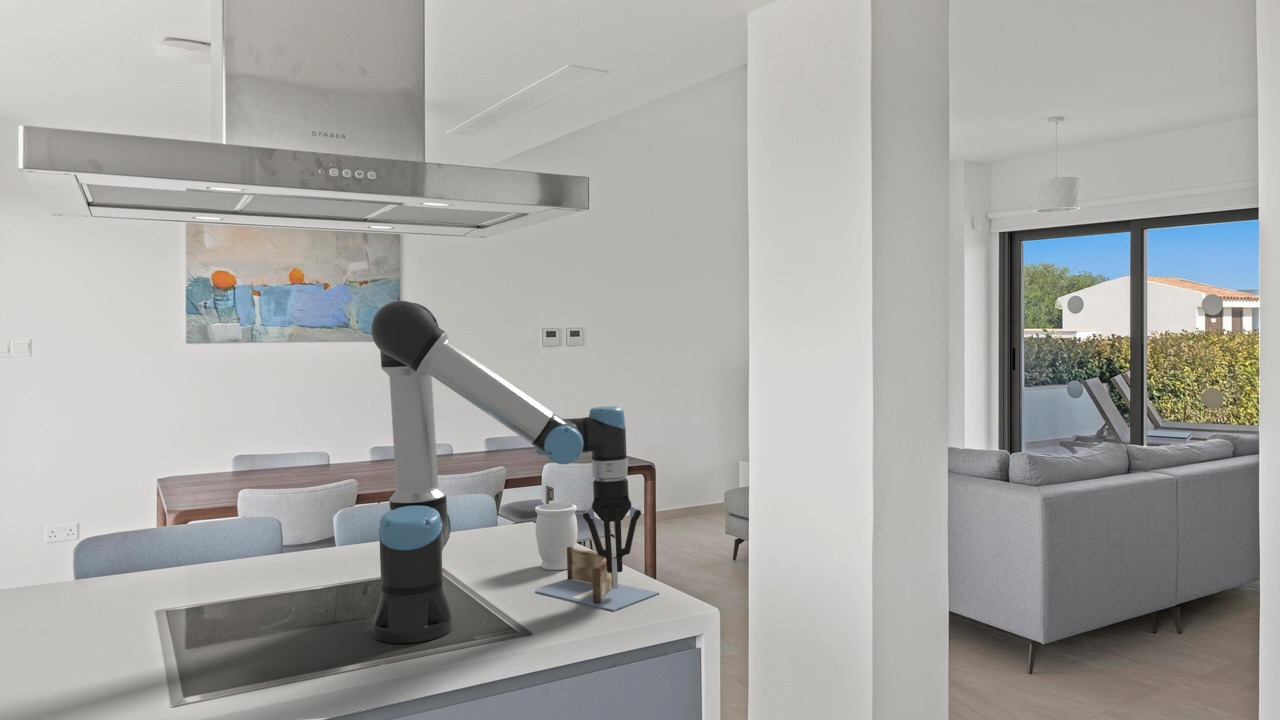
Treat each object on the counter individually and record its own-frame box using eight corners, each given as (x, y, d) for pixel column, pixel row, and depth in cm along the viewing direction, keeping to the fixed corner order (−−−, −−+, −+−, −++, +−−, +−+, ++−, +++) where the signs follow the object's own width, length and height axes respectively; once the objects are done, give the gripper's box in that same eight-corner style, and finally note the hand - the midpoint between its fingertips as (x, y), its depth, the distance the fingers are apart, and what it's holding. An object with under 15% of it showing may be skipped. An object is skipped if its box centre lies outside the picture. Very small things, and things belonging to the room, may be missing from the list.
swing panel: (605, 586, 196) (604, 556, 195) (612, 587, 195) (611, 556, 195) (592, 602, 184) (591, 570, 184) (599, 602, 184) (598, 570, 184)
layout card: (535, 592, 195) (535, 590, 195) (581, 577, 206) (581, 575, 206) (614, 611, 180) (614, 609, 180) (659, 594, 191) (659, 592, 191)
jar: (572, 572, 211) (571, 510, 210) (531, 571, 212) (529, 510, 212) (582, 561, 221) (581, 502, 221) (543, 560, 223) (541, 502, 222)
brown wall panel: (565, 579, 205) (564, 547, 204) (571, 577, 206) (570, 546, 206) (611, 589, 196) (610, 556, 195) (617, 587, 197) (616, 554, 197)
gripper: (580, 482, 184) (585, 593, 185) (639, 479, 184) (645, 590, 185) (581, 477, 192) (587, 583, 192) (639, 474, 192) (644, 580, 192)
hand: (615, 586), depth 188 cm, fingers closed
